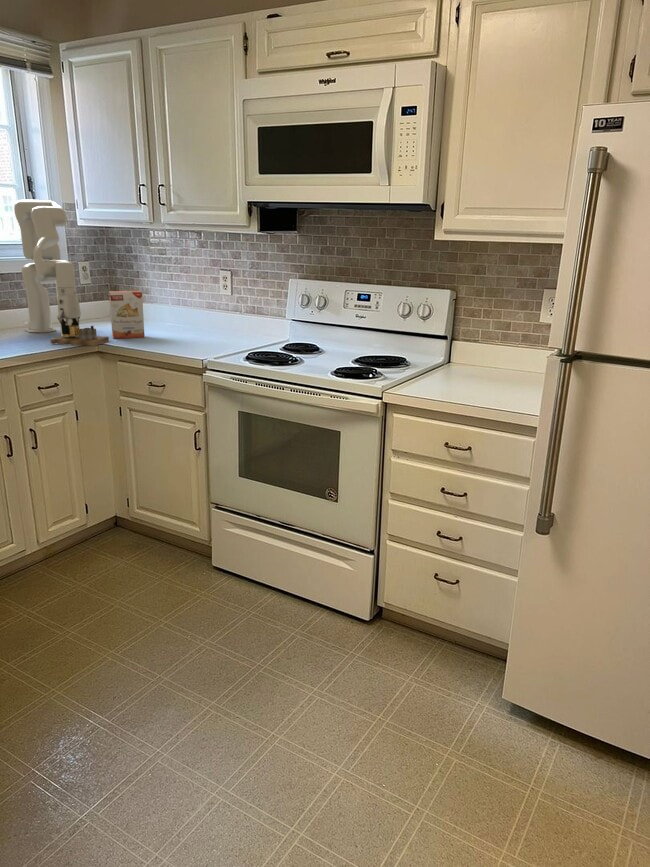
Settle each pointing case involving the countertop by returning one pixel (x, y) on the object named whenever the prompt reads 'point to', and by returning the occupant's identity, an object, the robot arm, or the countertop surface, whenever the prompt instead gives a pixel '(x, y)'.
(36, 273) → the robot arm
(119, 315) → the cracker box
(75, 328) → the brass gear
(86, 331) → the gear board
